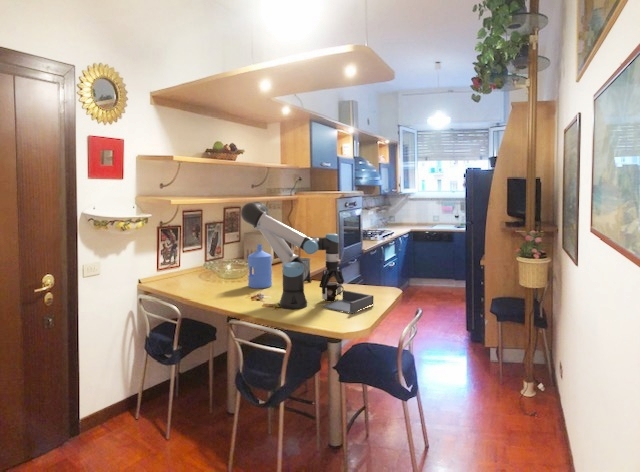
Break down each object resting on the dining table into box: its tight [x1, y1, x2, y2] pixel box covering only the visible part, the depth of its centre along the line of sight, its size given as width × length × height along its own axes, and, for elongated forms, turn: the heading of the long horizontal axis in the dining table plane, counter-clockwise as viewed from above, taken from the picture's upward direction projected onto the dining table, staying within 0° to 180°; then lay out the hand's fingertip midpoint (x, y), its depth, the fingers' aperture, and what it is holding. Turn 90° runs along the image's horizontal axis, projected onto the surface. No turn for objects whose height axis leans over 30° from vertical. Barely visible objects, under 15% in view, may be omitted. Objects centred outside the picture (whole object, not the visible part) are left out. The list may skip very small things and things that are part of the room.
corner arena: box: [321, 289, 374, 314], centre depth 234 cm, size 20×20×6 cm
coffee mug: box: [323, 281, 344, 302], centre depth 247 cm, size 12×9×10 cm
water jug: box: [247, 244, 273, 290], centre depth 283 cm, size 16×16×28 cm
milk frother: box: [300, 257, 313, 282], centre depth 303 cm, size 14×16×15 cm
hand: (332, 296), depth 247 cm, fingers open, 13 cm apart
